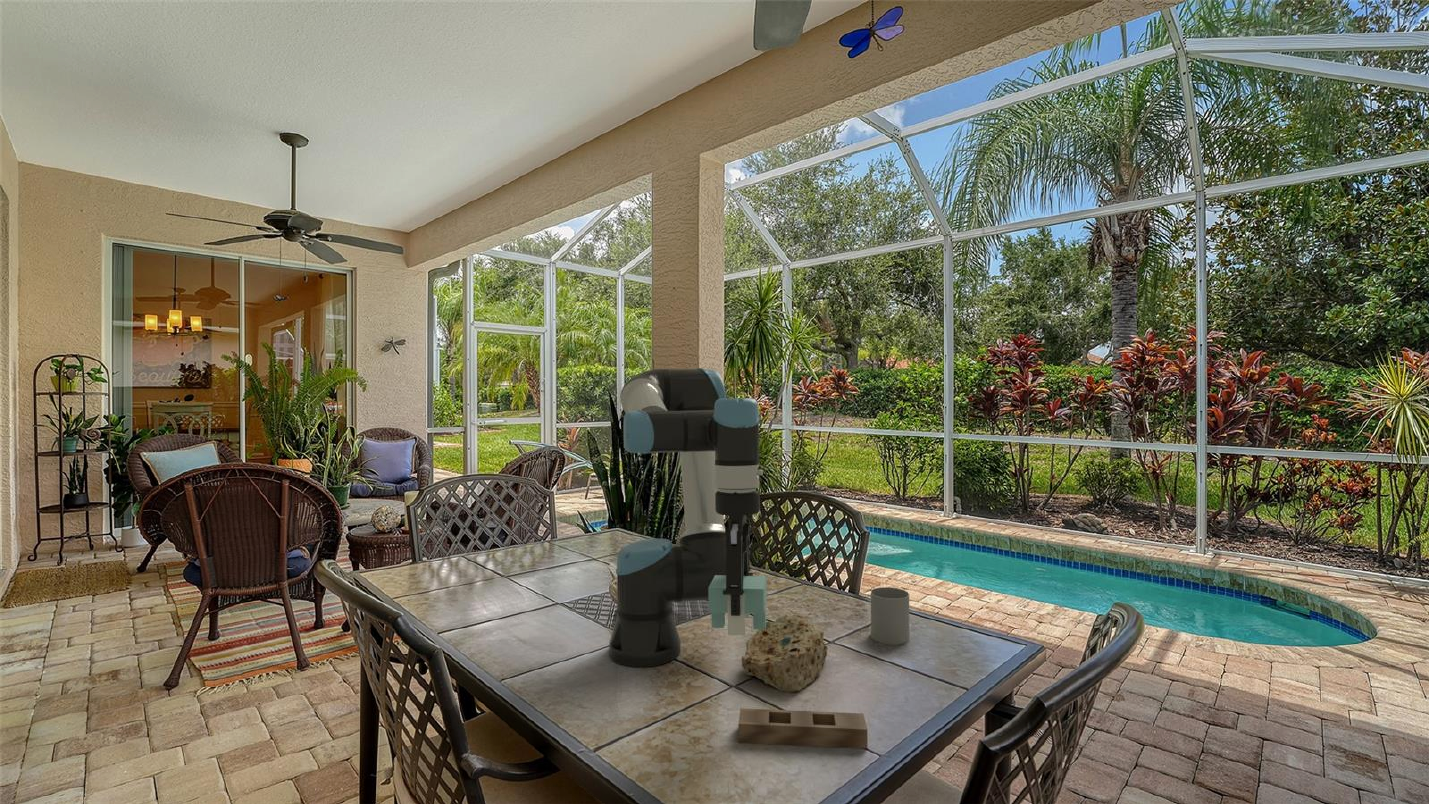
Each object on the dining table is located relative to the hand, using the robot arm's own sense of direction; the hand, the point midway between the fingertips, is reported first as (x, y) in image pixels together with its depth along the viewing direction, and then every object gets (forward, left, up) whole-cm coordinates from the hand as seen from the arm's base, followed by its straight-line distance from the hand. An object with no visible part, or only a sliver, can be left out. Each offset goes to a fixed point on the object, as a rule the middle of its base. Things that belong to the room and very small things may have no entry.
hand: (739, 625), depth 110 cm
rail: (+10, -4, -16) cm, 20 cm away
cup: (+31, +40, -16) cm, 53 cm away
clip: (0, 0, 0) cm, 0 cm away
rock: (+8, +22, -17) cm, 28 cm away
